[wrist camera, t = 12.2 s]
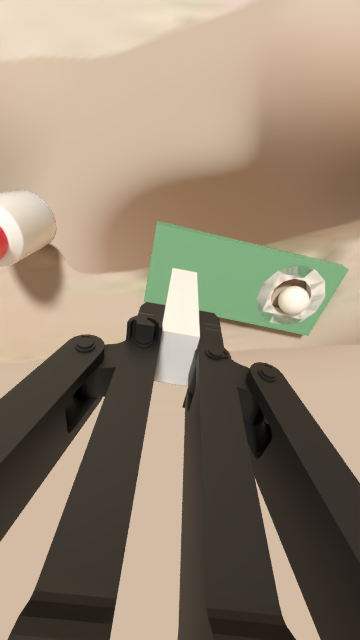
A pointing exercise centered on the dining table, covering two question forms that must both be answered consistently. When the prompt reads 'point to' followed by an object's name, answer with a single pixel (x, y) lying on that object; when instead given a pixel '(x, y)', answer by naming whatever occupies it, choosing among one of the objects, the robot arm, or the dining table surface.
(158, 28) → the dining table surface
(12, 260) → the pill bottle
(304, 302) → the ball
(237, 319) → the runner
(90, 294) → the dining table surface
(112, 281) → the dining table surface
